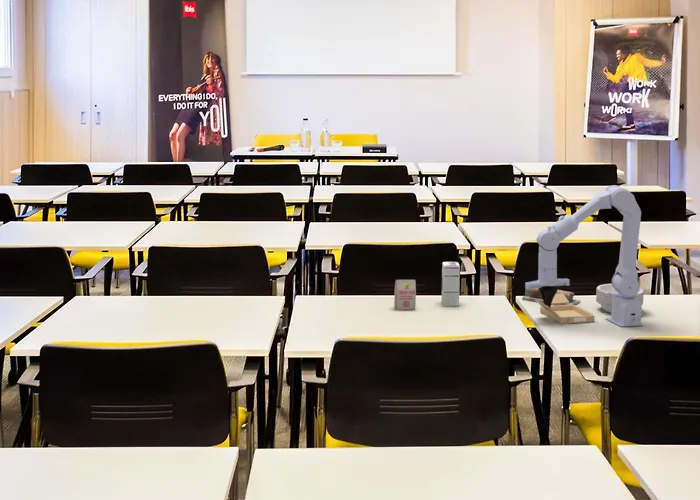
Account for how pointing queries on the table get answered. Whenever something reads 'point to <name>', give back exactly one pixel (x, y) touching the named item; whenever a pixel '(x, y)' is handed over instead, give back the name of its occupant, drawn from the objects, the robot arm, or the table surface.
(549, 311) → the left flap
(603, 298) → the paper bowls
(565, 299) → the far flap
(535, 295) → the packaged product
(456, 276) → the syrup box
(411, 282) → the white food box
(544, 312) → the carton
